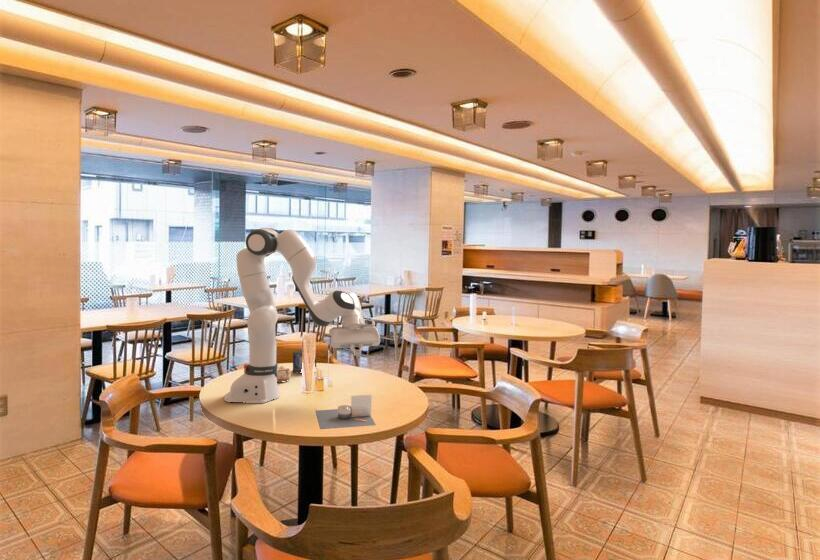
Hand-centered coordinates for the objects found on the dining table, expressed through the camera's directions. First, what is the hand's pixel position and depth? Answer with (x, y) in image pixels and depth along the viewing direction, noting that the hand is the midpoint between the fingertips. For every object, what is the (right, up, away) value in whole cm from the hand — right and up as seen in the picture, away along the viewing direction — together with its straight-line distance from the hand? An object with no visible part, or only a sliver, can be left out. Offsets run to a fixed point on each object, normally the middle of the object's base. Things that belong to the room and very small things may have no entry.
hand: (357, 354), depth 203 cm
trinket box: (-44, -18, +37) cm, 61 cm away
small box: (-33, -17, +54) cm, 66 cm away
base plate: (-4, -23, -13) cm, 27 cm away
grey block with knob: (0, -21, -12) cm, 25 cm away
